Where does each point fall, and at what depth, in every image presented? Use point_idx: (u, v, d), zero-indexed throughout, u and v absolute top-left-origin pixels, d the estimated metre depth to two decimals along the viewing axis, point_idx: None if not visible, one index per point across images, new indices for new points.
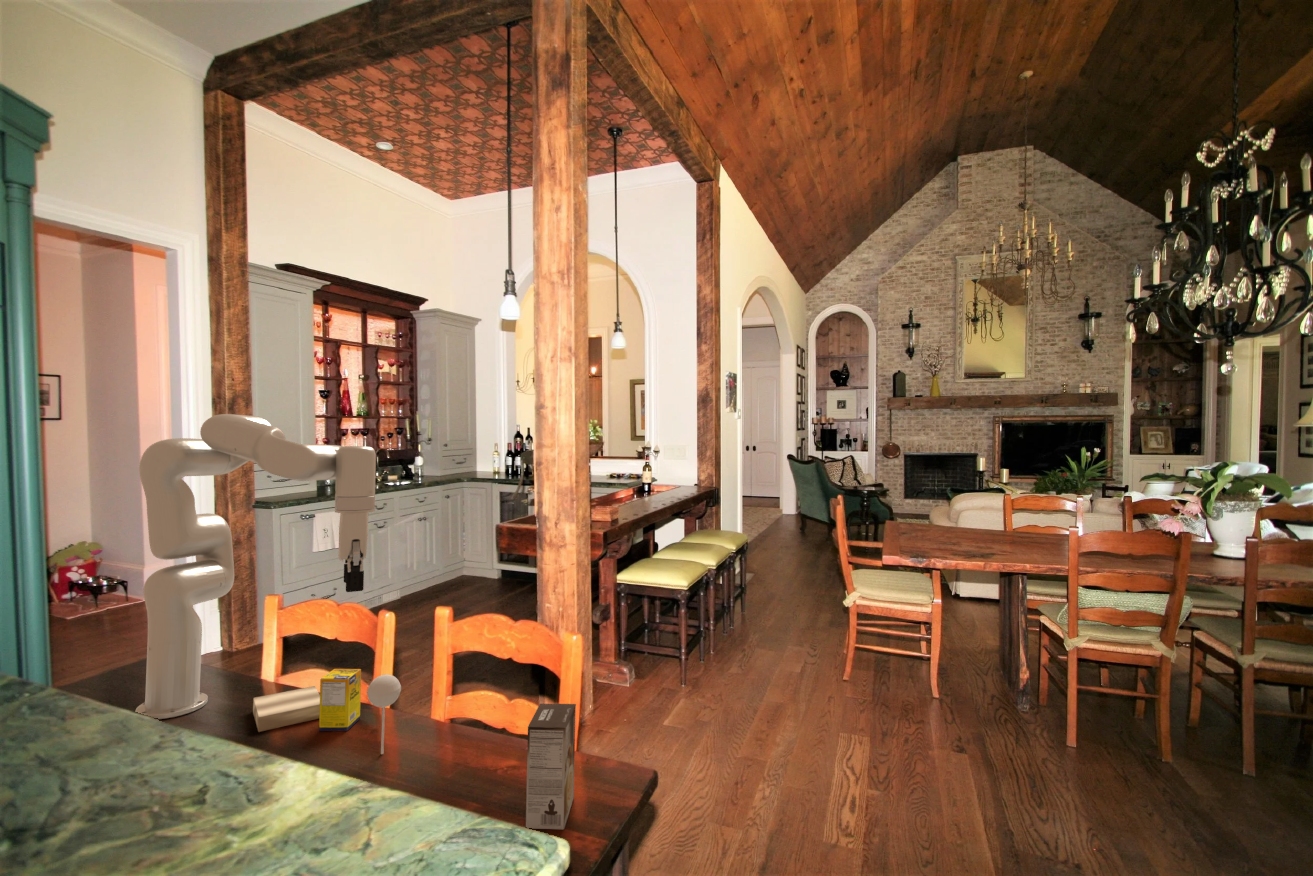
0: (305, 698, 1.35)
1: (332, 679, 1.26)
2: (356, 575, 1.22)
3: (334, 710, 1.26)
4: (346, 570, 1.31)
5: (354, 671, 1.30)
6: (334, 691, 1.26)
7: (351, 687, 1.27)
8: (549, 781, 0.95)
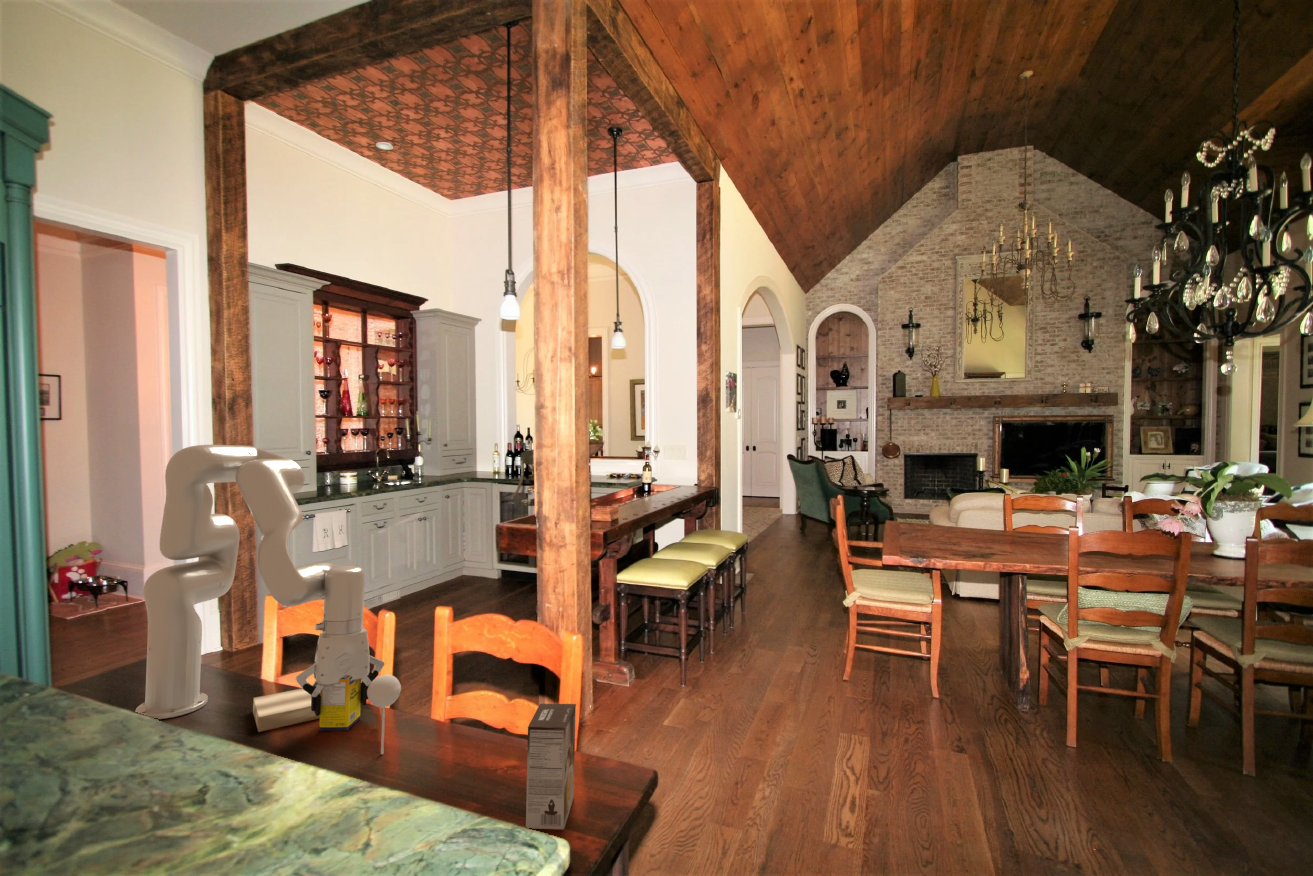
0: (305, 698, 1.35)
1: None
2: None
3: (334, 710, 1.26)
4: None
5: None
6: (334, 691, 1.26)
7: (351, 687, 1.27)
8: (549, 781, 0.95)
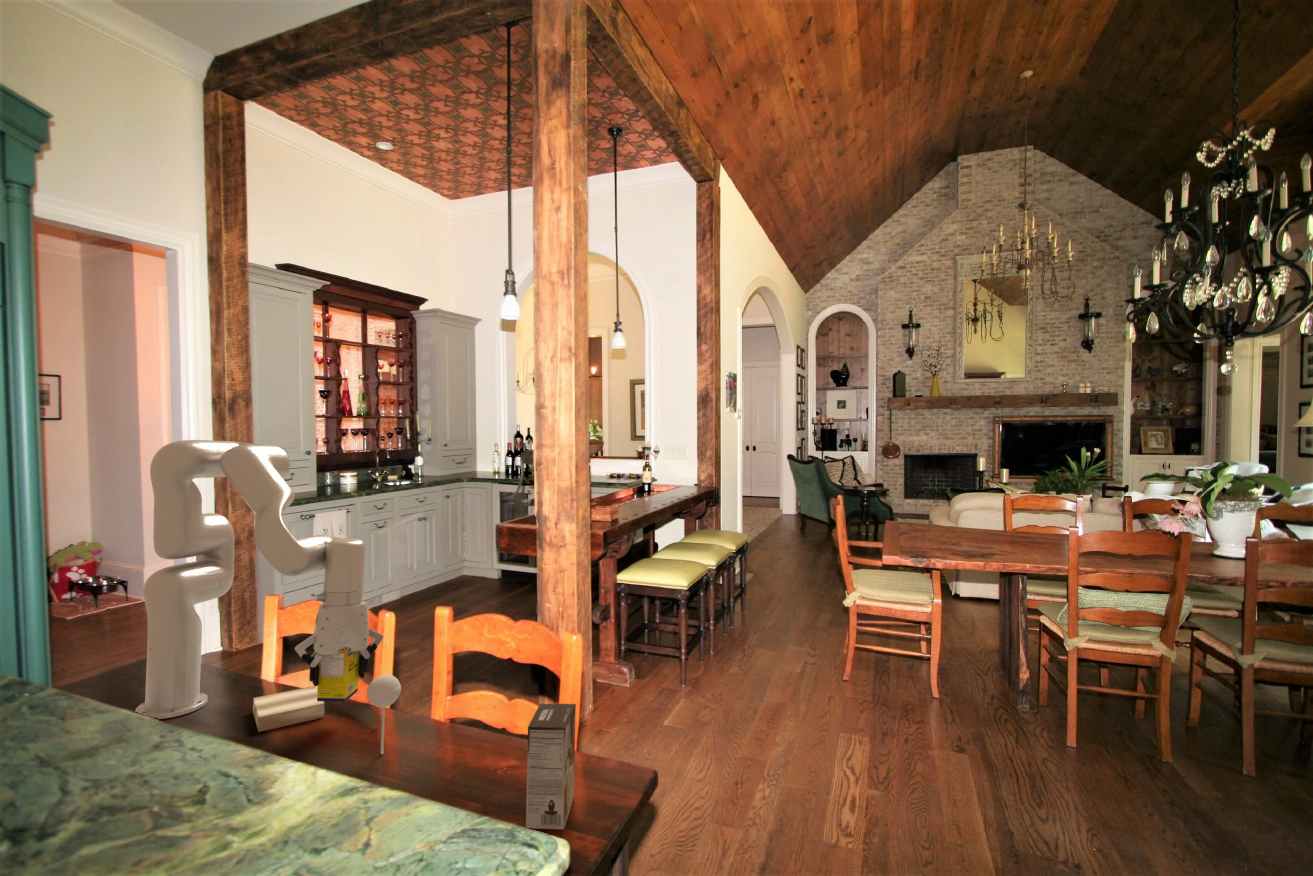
0: (305, 698, 1.35)
1: None
2: None
3: (332, 681, 1.26)
4: None
5: None
6: (333, 662, 1.26)
7: (349, 659, 1.28)
8: (549, 781, 0.95)
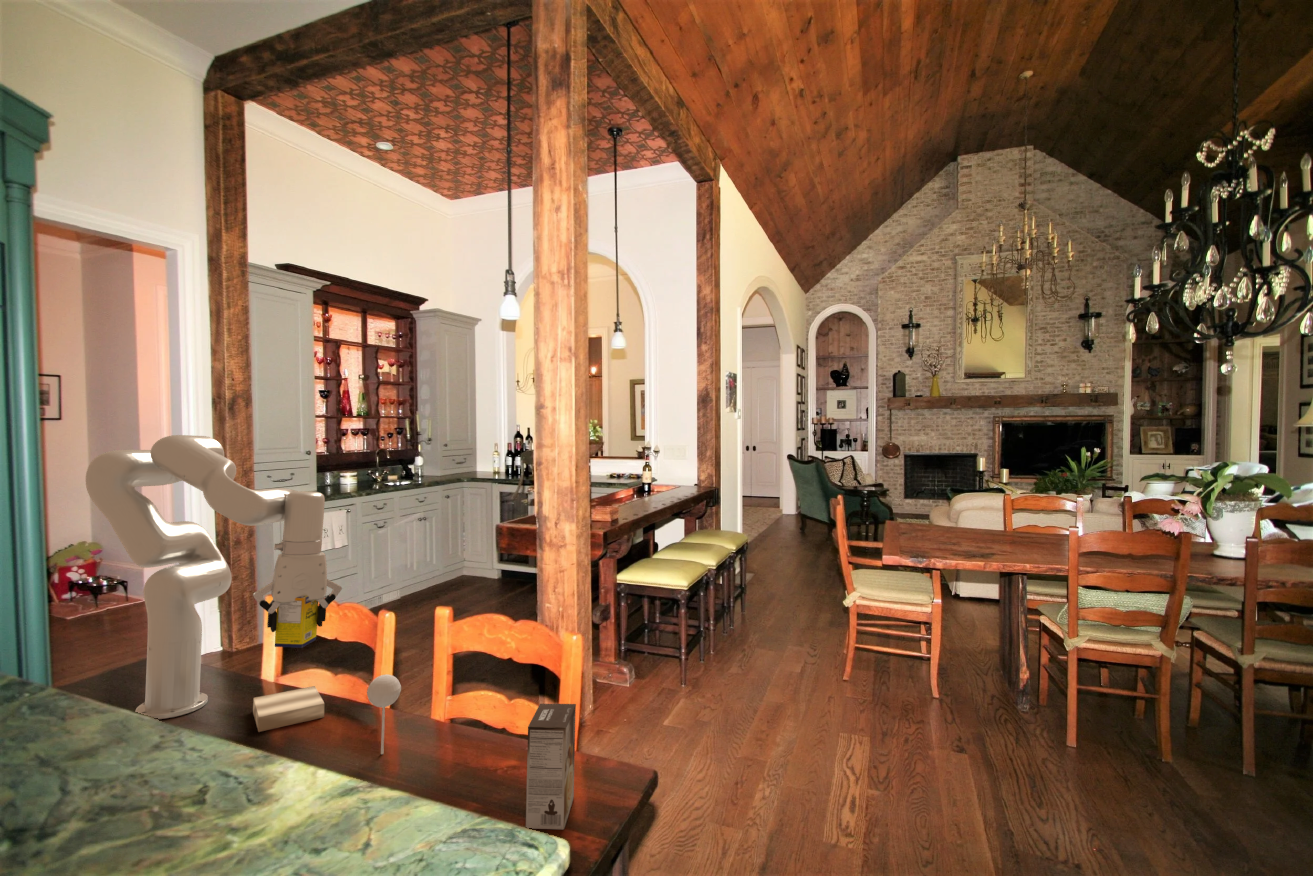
0: (305, 698, 1.35)
1: None
2: None
3: (290, 627, 1.30)
4: (276, 618, 1.30)
5: None
6: (290, 609, 1.30)
7: (307, 606, 1.31)
8: (549, 781, 0.95)
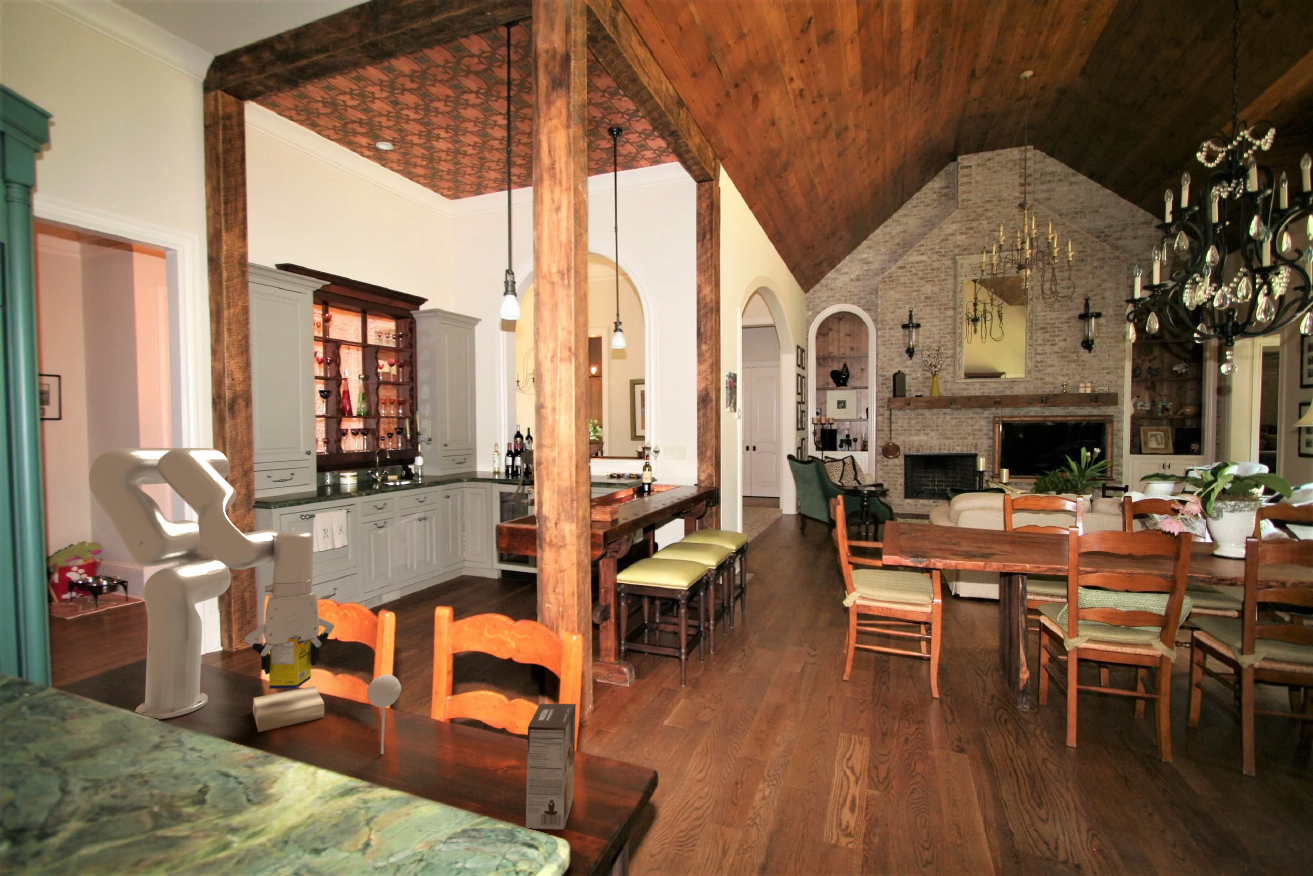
0: (305, 698, 1.35)
1: None
2: None
3: (283, 669, 1.31)
4: (269, 661, 1.30)
5: None
6: (283, 650, 1.31)
7: (300, 647, 1.32)
8: (549, 781, 0.95)
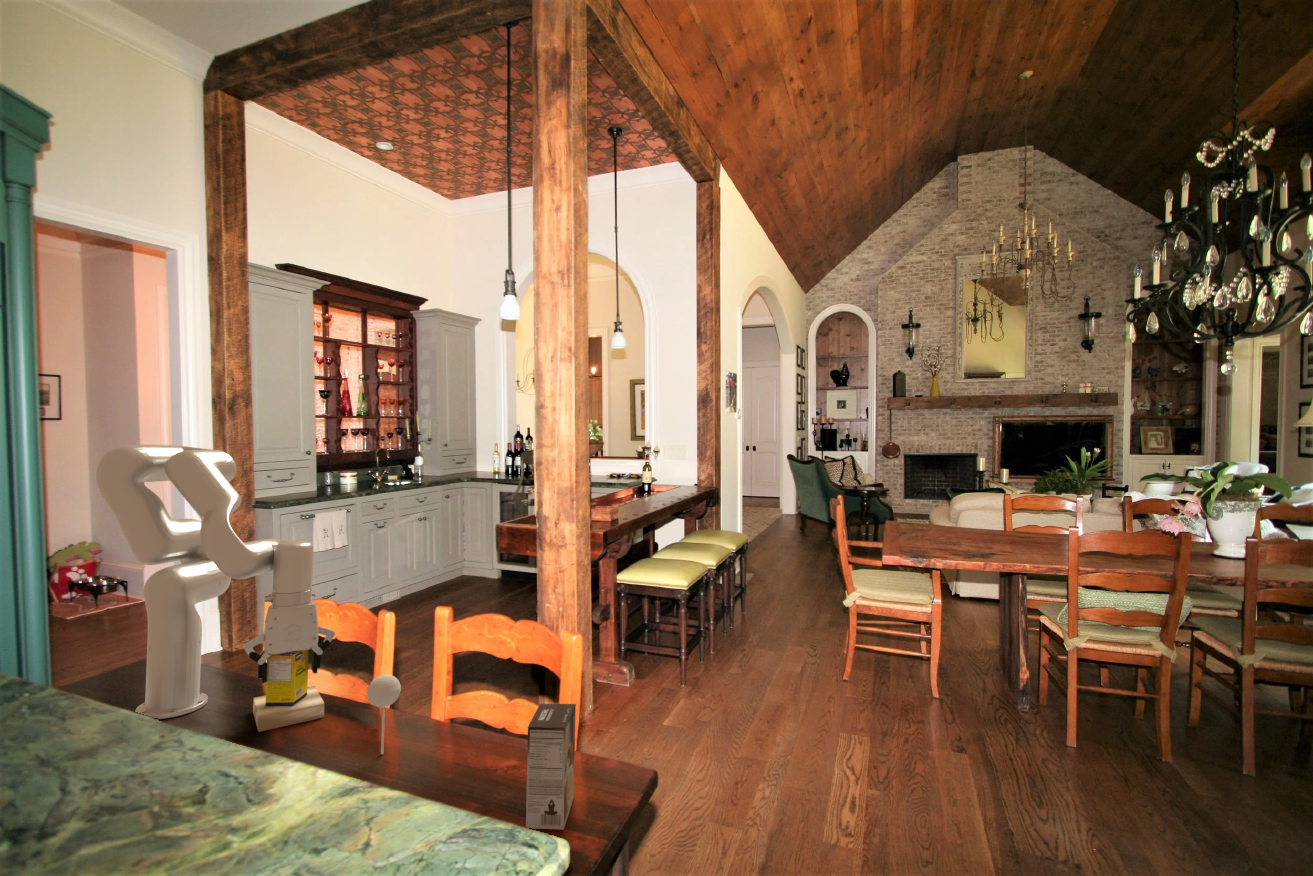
0: (305, 698, 1.35)
1: (278, 655, 1.31)
2: None
3: (280, 686, 1.30)
4: (266, 669, 1.30)
5: None
6: (280, 667, 1.31)
7: (297, 664, 1.32)
8: (549, 781, 0.95)
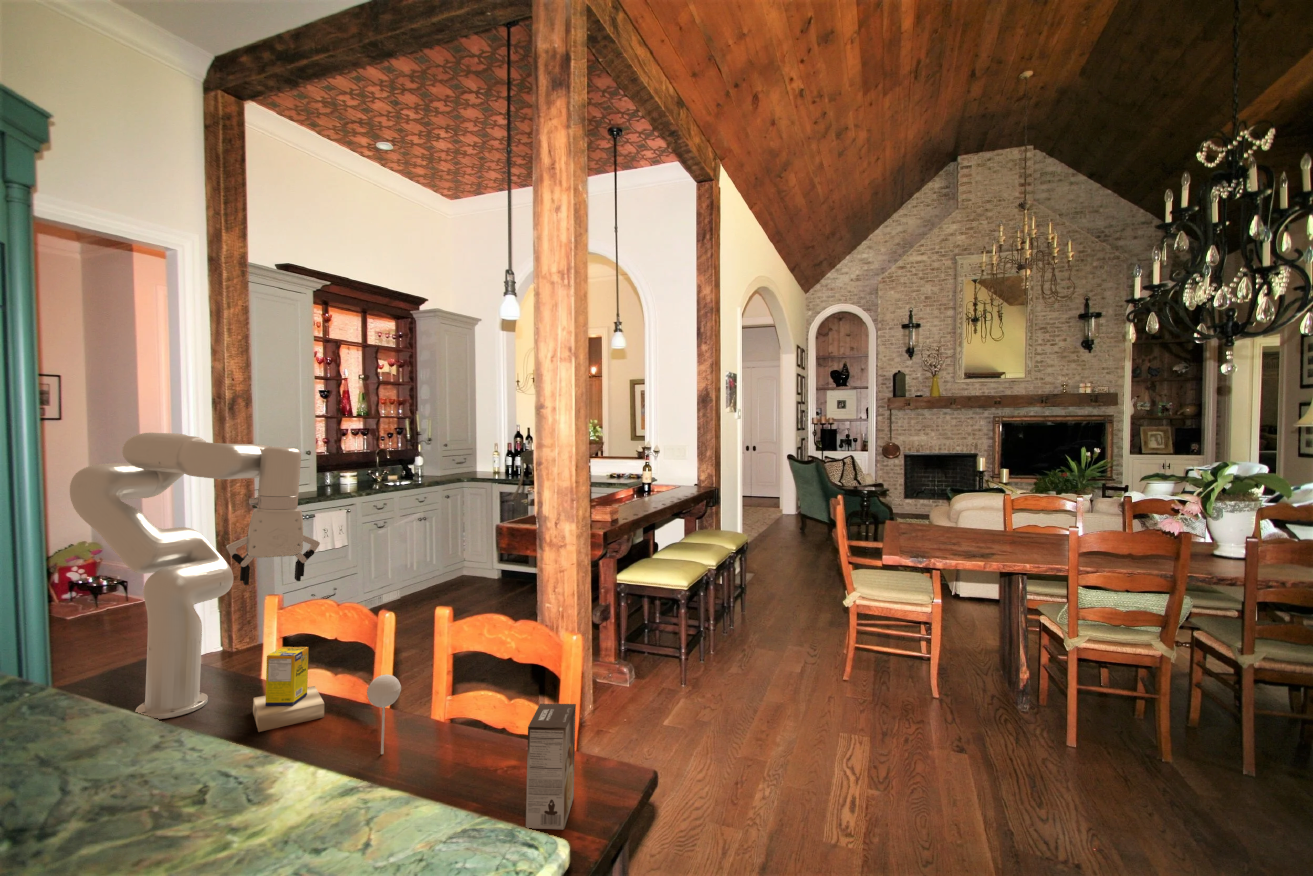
0: (305, 698, 1.35)
1: (278, 655, 1.31)
2: None
3: (280, 686, 1.30)
4: None
5: (301, 649, 1.35)
6: (280, 667, 1.31)
7: (297, 664, 1.32)
8: (549, 781, 0.95)
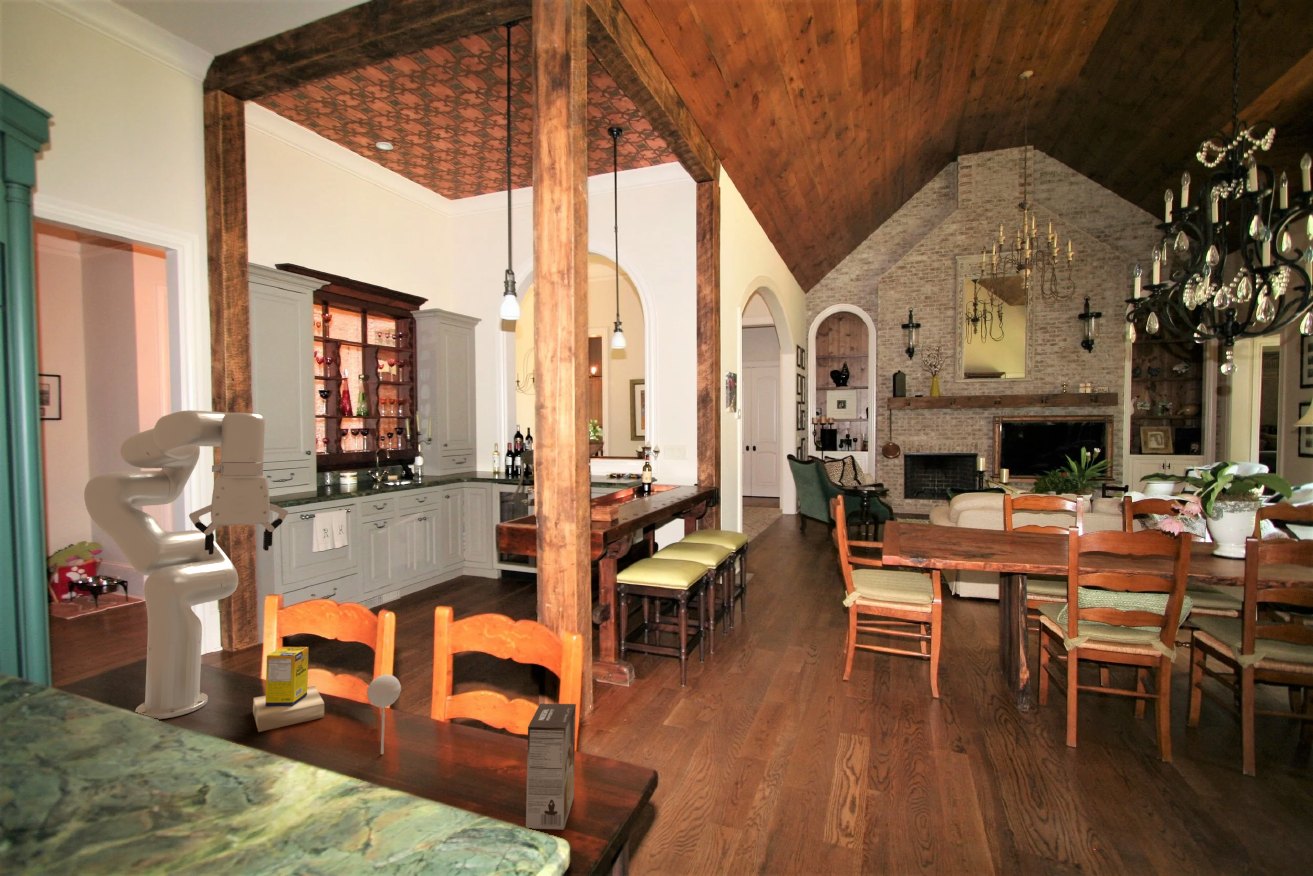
0: (305, 698, 1.35)
1: (278, 655, 1.31)
2: None
3: (280, 686, 1.30)
4: (213, 541, 1.25)
5: (301, 649, 1.35)
6: (280, 667, 1.31)
7: (297, 664, 1.32)
8: (549, 781, 0.95)
